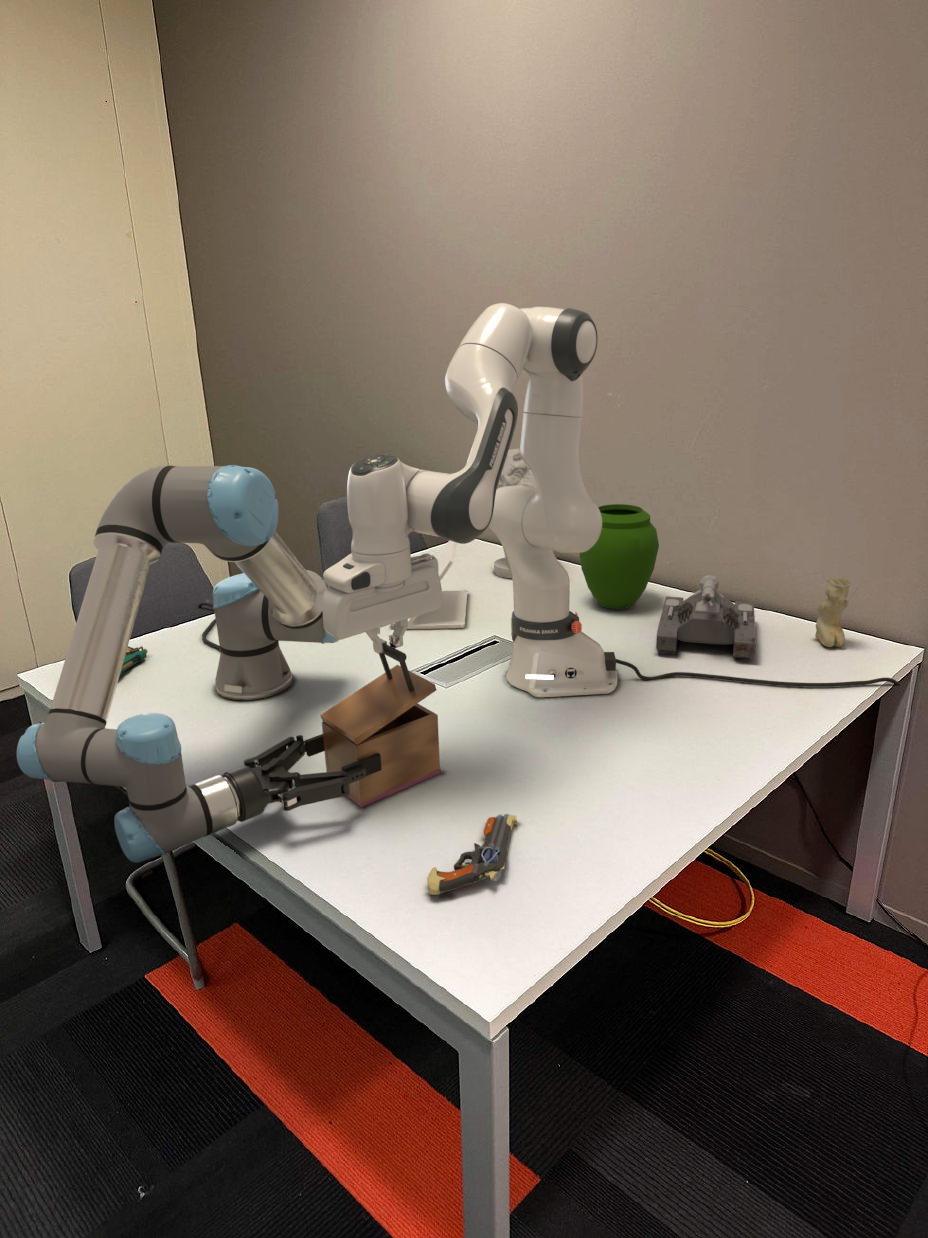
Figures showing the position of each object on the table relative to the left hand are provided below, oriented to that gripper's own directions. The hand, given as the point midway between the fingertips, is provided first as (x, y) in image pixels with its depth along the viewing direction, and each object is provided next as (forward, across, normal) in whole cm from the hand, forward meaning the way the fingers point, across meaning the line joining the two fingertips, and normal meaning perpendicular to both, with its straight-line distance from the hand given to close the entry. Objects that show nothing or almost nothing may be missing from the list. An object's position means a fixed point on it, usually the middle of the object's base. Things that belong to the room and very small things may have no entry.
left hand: (360, 748), depth 136 cm
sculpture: (+109, +18, -7) cm, 110 cm away
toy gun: (+1, +27, -7) cm, 28 cm away
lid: (+4, 0, +6) cm, 7 cm away
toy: (+91, -1, -7) cm, 92 cm away
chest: (+4, 0, -7) cm, 8 cm away
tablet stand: (+57, -58, -7) cm, 82 cm away
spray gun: (-16, -77, -7) cm, 79 cm away
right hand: (+6, 0, +15) cm, 17 cm away
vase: (+94, -30, -7) cm, 99 cm away
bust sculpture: (+94, -64, -7) cm, 114 cm away
